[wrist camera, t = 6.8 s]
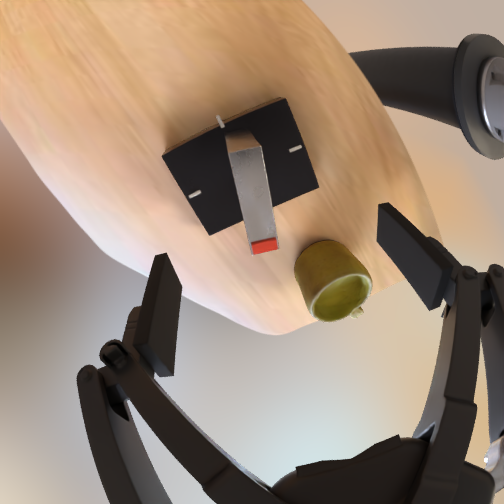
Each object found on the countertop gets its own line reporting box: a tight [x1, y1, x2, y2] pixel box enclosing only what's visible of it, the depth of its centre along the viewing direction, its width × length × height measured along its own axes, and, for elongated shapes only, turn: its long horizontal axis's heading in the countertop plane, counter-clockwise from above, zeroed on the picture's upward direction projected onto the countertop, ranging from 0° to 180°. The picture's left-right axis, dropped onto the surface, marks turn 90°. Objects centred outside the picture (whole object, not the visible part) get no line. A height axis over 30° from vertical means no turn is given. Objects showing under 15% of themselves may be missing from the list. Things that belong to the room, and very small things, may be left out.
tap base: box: [162, 97, 319, 236], centre depth 29 cm, size 14×13×3 cm
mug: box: [294, 240, 372, 322], centre depth 38 cm, size 12×10×10 cm
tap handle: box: [224, 128, 279, 255], centre depth 24 cm, size 9×2×9 cm, turn 11°
